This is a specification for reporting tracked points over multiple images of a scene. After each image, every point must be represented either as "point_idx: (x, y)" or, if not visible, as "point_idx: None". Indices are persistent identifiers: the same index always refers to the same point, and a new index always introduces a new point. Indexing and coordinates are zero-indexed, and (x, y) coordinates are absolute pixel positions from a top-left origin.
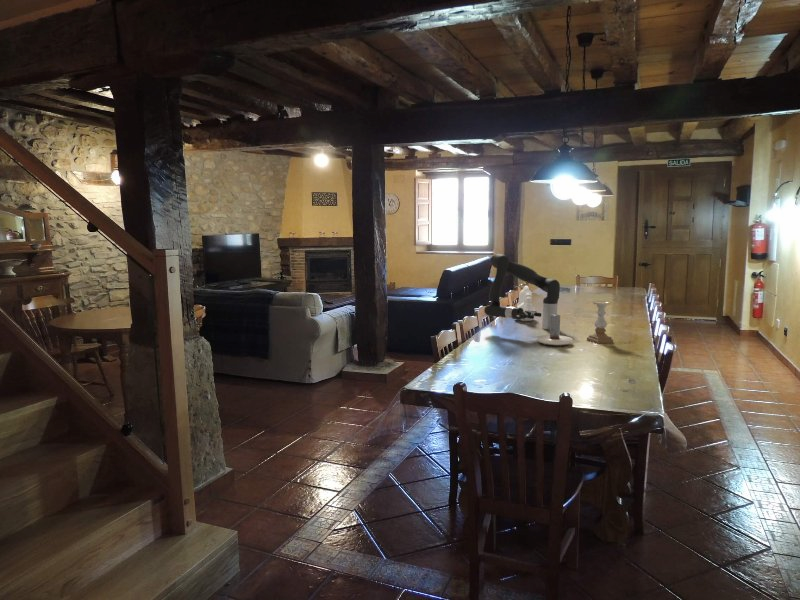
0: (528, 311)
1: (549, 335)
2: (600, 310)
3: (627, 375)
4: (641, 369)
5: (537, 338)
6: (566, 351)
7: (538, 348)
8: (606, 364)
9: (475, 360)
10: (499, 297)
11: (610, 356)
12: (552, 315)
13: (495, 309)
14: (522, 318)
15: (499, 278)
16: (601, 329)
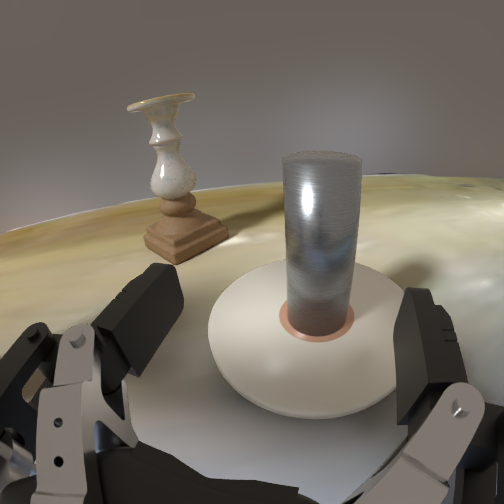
0: (82, 466)
1: (237, 360)
2: (174, 127)
3: (452, 187)
4: (406, 181)
5: (387, 389)
6: (412, 266)
7: (466, 348)
8: (431, 202)
9: None
10: None
11: (364, 204)
12: (357, 161)
13: None
14: (488, 481)
15: None
16: (191, 194)
